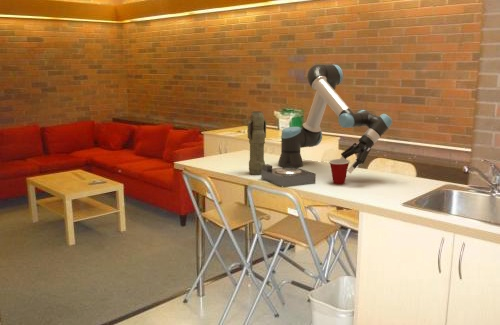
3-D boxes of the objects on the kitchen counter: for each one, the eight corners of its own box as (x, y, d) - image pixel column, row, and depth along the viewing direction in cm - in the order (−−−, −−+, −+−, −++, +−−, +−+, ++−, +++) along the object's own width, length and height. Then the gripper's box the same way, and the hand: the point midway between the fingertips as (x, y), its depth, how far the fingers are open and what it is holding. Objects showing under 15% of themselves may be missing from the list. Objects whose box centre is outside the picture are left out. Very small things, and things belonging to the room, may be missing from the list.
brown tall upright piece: (243, 173, 275) (243, 111, 269) (258, 170, 283) (259, 110, 277) (254, 176, 269) (254, 112, 262) (269, 173, 277) (270, 111, 270)
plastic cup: (324, 181, 256) (324, 159, 254) (342, 180, 260) (342, 158, 258) (334, 186, 246) (335, 162, 244) (353, 184, 250) (354, 161, 248)
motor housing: (261, 178, 263) (261, 164, 261) (292, 175, 272) (293, 161, 270) (282, 187, 244) (282, 171, 242) (315, 183, 253) (315, 168, 251)
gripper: (386, 147, 243) (358, 178, 241) (360, 140, 266) (335, 169, 264) (377, 137, 240) (349, 169, 238) (352, 131, 264) (326, 160, 262)
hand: (341, 169), depth 251 cm, fingers open, 13 cm apart
